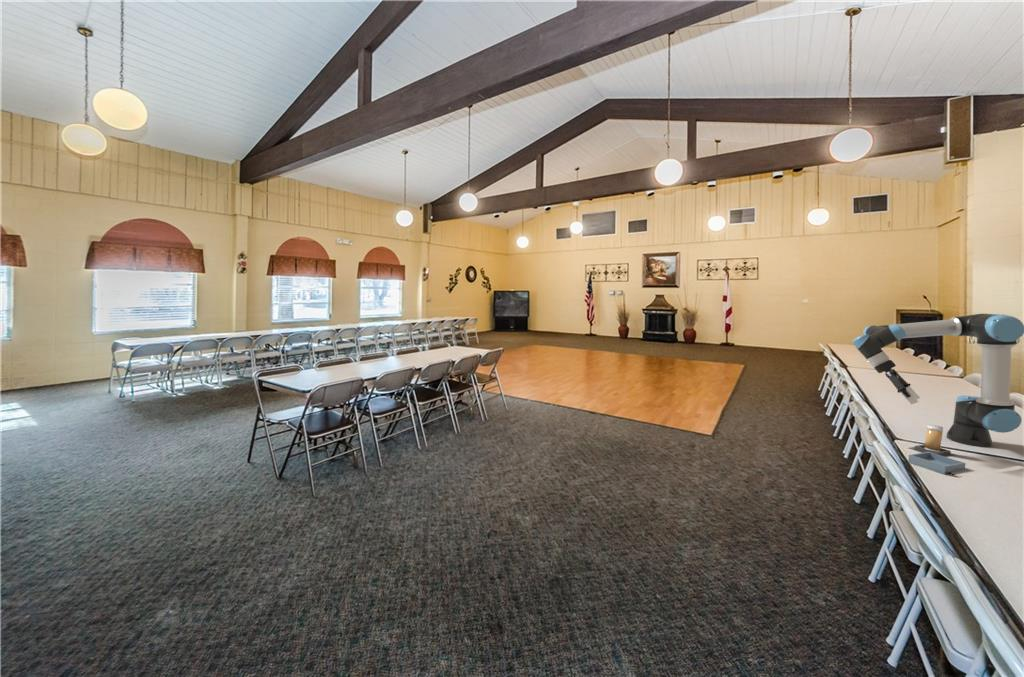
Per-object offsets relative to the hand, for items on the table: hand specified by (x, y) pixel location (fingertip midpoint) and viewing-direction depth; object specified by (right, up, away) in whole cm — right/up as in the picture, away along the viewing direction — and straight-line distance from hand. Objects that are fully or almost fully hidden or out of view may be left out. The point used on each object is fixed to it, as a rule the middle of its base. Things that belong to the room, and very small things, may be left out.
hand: (916, 401), depth 189 cm
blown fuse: (+5, -23, -2) cm, 24 cm away
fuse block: (+5, -24, -2) cm, 25 cm away
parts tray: (-8, -26, -16) cm, 31 cm away
